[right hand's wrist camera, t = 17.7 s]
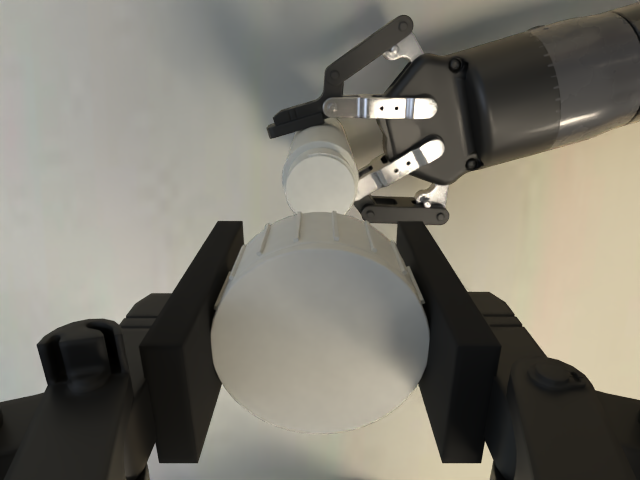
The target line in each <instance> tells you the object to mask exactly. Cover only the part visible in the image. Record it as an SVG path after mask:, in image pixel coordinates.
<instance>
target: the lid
mask: <svg viewBox="0 0 640 480" xmlns="http://www.w3.org/2000/svg"><path fill="white" fill-rule="evenodd" d="M424 303H425V301H424V299H423V296H422V294H421V292H420V290H419V287H418V285H417V283H416V280H415V278H414V276H413V273H412V271H411V269H410V266H407V267H406V265H405V263H404V260H403V259H402V257H401V255H400V254H399V251H398V249H397V246H396V244H395V242H394V241H393V240H391V241H389V240H388V239H387V238H386V237H385V236H384V235H383V234H382V233H381V232H379V231H378V230H377V229H375V228H374V227H372V226H371V225H370V223H369V222H368V221H365V222H363V221H361V220H358V219H356V218H353V217H351V216H347V215H343V214H339V213H337V211H332V213H330V212H310V213H302V212H297V215H294V216H290V217H287V218H284V219H282V220H279V221H277V222H275V223H273V224H272V225H270V224H269V223H268V224H267V225H265V228H264V230H262V231H261V232H260V233H258V234H257V235H256V236H255V237H254V238H253V239H252V240H251V241H250V242H249V243H248V244H247V245H246V246H245V245H243V246H242V247H241V250H240V252H239V254H238V257H237V259H236V261H235V264H234V266H233V269H232V271H231V272H230V271H229V273H228V275H227V278H226V280H225V282H224V284H223V287H222V289H221V291H220V294H219V296H218V298H217V301H216V303H215V305H214V310H216V312H215V315H214V317H213V321H212V326H211V331H210V337H211V348H212V357H213V364H214V367H215V370H216V372H217V374H218V377H219V379H220V381H221V382H222V384H223V385H224V387H225V389H226V390H227V391H228V393H229V394H230V395H231V396H232V397H233V399H234V400H235V401H236V402H238V403H239V404H240V405H241V406H242V407H243V408H244V409H246V410H247V411H248V412H250V413H251V414H252V415H254V416H256V417H257V418H259V419H261V420H263V421H264V422H267V423H269V424H271V425H274V426H276V427H279V428H283V429H286V430H289V431H294V432H299V433H308V434H333V433H341V432H346V431H351V430H355V429H358V428H361V427H364V426H367V425H369V424H371V423H373V422H376V421H378V420H380V419H381V418H383V417H385V416H386V415H388V414H389V413H391V412H392V411H393V410H395V409H396V408H397V407H399V406H400V405H401V404H402V403H403V402H404V401H405V400H406V399H407V398H408V397H409V395H410V394H411V393H412V392H413V390H414V389H415V388H416V386H417V384H418V383H419V381H420V379H421V378H422V375H423V373H424V370H425V368H426V365H427V359H428V350H429V340H430V329H429V324H428V320H427V316H426V314H425V311H424V309H423V306H422V304H424Z"/></svg>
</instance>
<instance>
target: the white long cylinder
mask: <svg viewBox="0 0 640 480" xmlns="http://www.w3.org/2000/svg"><path fill="white" fill-rule="evenodd" d="M358 182H359V175H358V169H357V166H356V163H355V160H354V157H353V154H352V151H351V148H350V145H349V142H348V139H347V136H346V133H345V130H344V128H343V126H342V124H341V123H340V121H339V120H338V119H336V118H327V119H325V123H324V124H320V125H317V126H313V127H309V128H307V129H303V130H300V131H296V133H295V136H294V139H293V141H292V144H291V147H290V150H289V153H288V156H287V159H286V162H285V165H284V168H283V172H282V184H283V189H284V192H285V195H286V199H287V202H288V204H289V206H290V208H291V209H292V210H293V212H294V213H295V214H296V215H297V212H302V213H310V212H330V213H332V211H337V213H339V214H343V215H344V214H345V213H347V211H349V209H350V208H351V206H352V205H353V204H354V201H355V198H356V196H357V188H358Z"/></svg>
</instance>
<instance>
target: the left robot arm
mask: <svg viewBox="0 0 640 480" xmlns="http://www.w3.org/2000/svg"><path fill="white" fill-rule="evenodd" d="M412 30H413V21H412V19H411V18H410V17H409V16H407V15H401V16H399V17H397V18H395V19H393V20H391V21H390V22H389V23H387V24H386V25H385V26H383V27H382V28H380V29H379V30H378V31H376V32H375V33H373V34H372V35H371V36H369V37H368V38H367V39H365V40H364V41H362V42H361V43H360V44H358V45H357V46H355V47H354V48H353V49H351V50H350V51H349V52H347V53H346V54H344V55H343V56H342V57H340V58H339V59H337V60H336V61H335V62H333V63H332V64H331V65H329V66H328V67H327V68H326V70H325V76H324V90H323V93H322V95H321V96H320V97H319V98H318V99H316V100H313V101H310V102H307V103H303V104H300V105H297V106H293V107H290V108H286V109H283V110H281V111H279V112H278V113H277V114H276V115H275V116H274V117H273V120H274V123H273V124H270V125H268V127H267V131H268V134H269V137H270V139H271V138H276V137H279V136H283V135H286V134H289V133H293V132H296V131H300V130H303V129H307V128H309V127H313V126H317V125H320V124H324V123H325V119H327V118H376V120H377V124H378V126H379V127H380V129H381V131H382V133H383V150H384V153H383V154H381V155H380V156H378V157H376V158H375V159H373V160H372V161H371V162H370V163H369V164H368V165H366V166H365V167H363V168H361V169H360V170H358V175H359V182H358V188H357V196H356V198H355V201H354V205H355V207H356V208H357V209H358V211H359V212H360V214H361V215H362V218H363V220H364V221H368V222H369V223H392V224H398V221H423V223H424V224H425V225H443V224H445V223H446V222H447V221H448V219H449V213H448V211H447V210H446V201H447V194H448V187H449V185H450V184H452V183H454V182H455V181H456V180H457V179H458V178H460V177H461V176H462V175H464V174H465V173H467V172H470V171H474V170H478V169H482V168H486V167H490V166H493V165H497V164H501V163H504V162H508V161H511V160H515V159H519V158H522V157H526V156H530V155H534V154H537V153H541V152H545V151H548V150H552V149H556V148H559V147H563V146H566V145H570V144H574V143H577V142H581V141H584V140H587V139H590V138H593V137H595V136H598V135H600V134H602V133H605V132H607V131H609V130H612V129H615V128H618V127H621V126H624V125H628V124H632V123H635V122H639V121H640V2H637V3H634V4H631V5H627V6H624V7H621V8H617V9H614V10H611V11H607V12H604V13H600V14H596V15H590V16H584V17H577V18H572V19H567V20H563V21H559V22H556V23H553V24H549V25H546V26H545V25H544V26H537V27H534V28H531V29H529V30H527V31H526V32H523V33H519V34H516V35H513V36H509V37H506V38H503V39H500V40H496V41H493V42H490V43H486V44H483V45H480V46H476V47H473V48H470V49H466V50H463V51H460V52H456V53H453V54H450V55H446V56H438V55H434V54H424V52H423V50H422V48H421V47H420V45H419V43H418V41H417V39H416V37H415V36H414V34H413V32H412ZM380 55H383V56H384V58H386V59H387V60H396V59H398V58H401V57H402V58H405V59H406V60H407V61H408V62H409V63H408V64H407V65H406V66H405V68H404V69H403V70H402V71H401V73H400V74H399V75H398V77H397V78H396V79H395V80H394V82H393V83H392V84H391V85H390V87H389V88H388V89H387V90H386V92H385V93H384V94H358V95H343V86H344V81H345V80H346V79H348V78H349V77H351V76H352V75H354V74H355V73H356V72H358V71H359V70H361V69H362V68H363V67H365V66H366V65H368V64H369V63H370V62H372V61H373V60H375V59H376V58H378V57H379V56H380ZM395 169H396V171H394V170H395ZM407 174H409V175H412V176H414V177H417V178H420V179H423V180H425V181H428V182H431V183H432V184H431V186H430V187H429V188H427V189H425V190H420V191H418V192H417V193H416V194H415V196H414V197H384V196H371V195H370V193H372V192H374V191H376V190H377V189H379V188H381V187H386V186H388V185H390V184H392V183H394V182H395V181H397V180H399V179H401V178H402V177H404V176H406V175H407Z"/></svg>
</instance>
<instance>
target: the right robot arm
mask: <svg viewBox="0 0 640 480" xmlns="http://www.w3.org/2000/svg"><path fill="white" fill-rule="evenodd" d="M243 245H244V237H243V222H242V221H218V222H217V223H216V225H215V226H214V228H213V230H212V231H211V233H210V234H209V236H208V238H207V239H206V241H205V242H204V244H203V245H202V247H201V249H200V250H199V252H198V253H197V255H196V256H195V258H194V260H193V261H192V263H191V264H190V266H189V267H188V269H187V271H186V272H185V274H184V275H183V277H182V278H181V280H180V282H179V283H178V285H177V286H176V288H175V290H174V291H173V293H151V294H150V295H148V296H147V297H145V298H143V299H142V300H140V301H139V302H137V303H136V304H135V305H134V306H133V307H132V309H131V310H130V311H129V313H128V314H127V315H126V318H124V319H123V321H122V322H121V323H120V325H119V324H117V323H116V322H115V321H111V320H107V319H87V320H82V321H77V322H72V323H70V324H67V325H65V326H62V327H59V328H57V329H55V330H54V331H52V332H50V333H49V334H47V335H46V336H44V337H43V338H42V340H41V341H40V342H39V343H38V344H37V348H38V352H39V355H40V359H41V362H42V366H43V370H44V373H45V377H46V381H47V384H48V386H47V388H46V390H45V392H44V393H41V394H37V395H33V396H28V397H23V398H19V399H14V400H9V401H4V402H0V480H150V478H149V471H148V466H147V461H148V458H149V456H150V454H151V451H152V449H153V447H154V444H155V442H156V448H157V453H158V459H159V463H198V461H199V458H200V454H201V451H202V448H203V445H204V441H205V438H206V435H207V431H208V428H209V425H210V421H211V418H212V415H213V412H214V408H215V405H216V402H217V398H218V395H219V392H220V388H221V385H222V382H221V381H220V379H219V377H218V374H217V372H216V370H215V367H214V364H213V357H212V348H211V337H210V331H211V326H212V321H213V317H214V315H215V312H216V310H214V305H215V303H216V301H217V298H218V296H219V294H220V291H221V289H222V287H223V284H224V282H225V280H226V278H227V275H228V273H229V271H230V272H231V271H232V269H233V266H234V264H235V261H236V259H237V257H238V254H239V252H240V250H241V247H242V246H243ZM396 246H397V249H398V251H399V254H400V255H401V257H402V259H403V260H404V263H405V265H406V267H407V266H410V269H411V271H412V273H413V276H414V278H415V280H416V283H417V285H418V287H419V290H420V292H421V294H422V296H423V299H424V301H425V303H424V304H422V306H423V309H424V311H425V314H426V316H427V320H428V324H429V329H430V340H429V350H428V359H427V365H426V368H425V370H424V373H423V375H422V378H421V379H420V381H419V383H418V384H419V388H420V391H421V394H422V397H423V401H424V404H425V407H426V411H427V414H428V417H429V421H430V424H431V427H432V430H433V434H434V437H435V440H436V444H437V447H438V450H439V454H440V457H441V460H442V463H481V460H482V455H483V449H484V443H485V441H486V444H487V446H488V448H489V451H490V453H491V455H492V458H493V466H492V471H491V476H490V480H640V400H636V399H632V398H627V397H622V396H617V395H612V394H607V393H603V392H600V391H596V390H595V389H594V387H593V385H592V384H591V382H590V381H589V380H588V378H587V377H586V376H585V375H584V374H583V373H581V372H580V371H579V370H577V369H576V368H574V367H573V366H571V365H569V364H566V363H564V362H562V361H559V360H556V359H552V358H548V357H547V356H546V355H545V354H544V352H543V351H542V350H541V348H540V347H539V346H538V344H537V343H536V342H535V340H534V339H533V338H532V337H531V335H530V334H529V333H528V331H527V330H526V329H525V327H522V323H521V322H520V321H519V320H518V318H517V317H515V316H514V313H513V312H512V310H511V309H510V308H509V306H508V305H507V304H506V303H505V302H504V301H503V300H501V299H499V298H498V297H496V296H495V295H493V294H492V293H490V292H467V291H466V289H465V287H464V286H463V284H462V283H461V281H460V280H459V278H458V276H457V275H456V273H455V272H454V270H453V269H452V267H451V265H450V264H449V262H448V261H447V259H446V258H445V256H444V254H443V253H442V251H441V250H440V248H439V246H438V245H437V243H436V242H435V240H434V239H433V237H432V235H431V234H430V232H429V231H428V229H427V228H426V226H425V224H424V223H423V221H398V227H397V241H396Z"/></svg>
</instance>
